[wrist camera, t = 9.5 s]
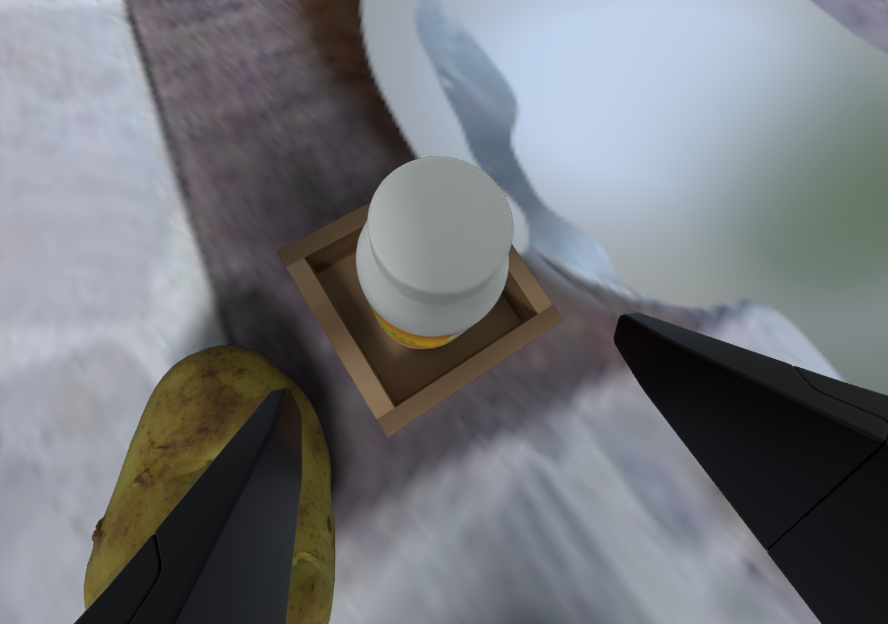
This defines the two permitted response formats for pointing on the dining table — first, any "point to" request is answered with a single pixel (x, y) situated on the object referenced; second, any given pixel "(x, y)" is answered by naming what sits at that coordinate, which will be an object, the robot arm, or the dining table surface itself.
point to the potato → (193, 449)
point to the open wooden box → (390, 363)
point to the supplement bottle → (434, 250)
